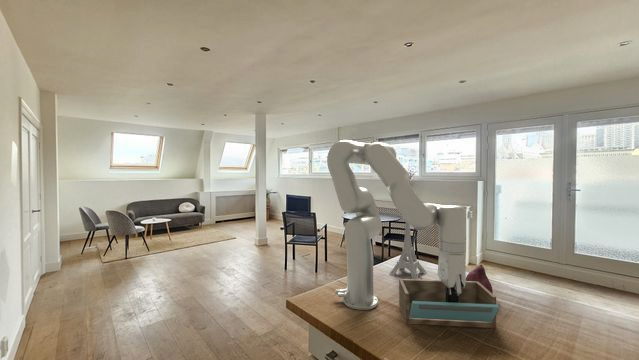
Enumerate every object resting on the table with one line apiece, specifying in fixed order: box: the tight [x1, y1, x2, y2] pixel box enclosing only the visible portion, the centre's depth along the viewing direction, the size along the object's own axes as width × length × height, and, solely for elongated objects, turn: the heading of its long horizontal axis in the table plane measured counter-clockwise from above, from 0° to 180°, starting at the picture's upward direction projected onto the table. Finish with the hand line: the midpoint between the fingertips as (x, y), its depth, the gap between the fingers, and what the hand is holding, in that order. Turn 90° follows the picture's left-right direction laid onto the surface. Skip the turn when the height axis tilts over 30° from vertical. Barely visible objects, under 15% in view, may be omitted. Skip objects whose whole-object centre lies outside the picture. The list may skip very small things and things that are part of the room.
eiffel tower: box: [388, 220, 428, 280], centre depth 128 cm, size 13×13×30 cm
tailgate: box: [410, 301, 500, 322], centre depth 82 cm, size 24×1×8 cm
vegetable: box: [466, 264, 494, 295], centre depth 101 cm, size 10×10×15 cm
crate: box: [398, 278, 497, 329], centre depth 90 cm, size 27×12×10 cm, turn 83°
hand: (452, 306), depth 82 cm, fingers closed
